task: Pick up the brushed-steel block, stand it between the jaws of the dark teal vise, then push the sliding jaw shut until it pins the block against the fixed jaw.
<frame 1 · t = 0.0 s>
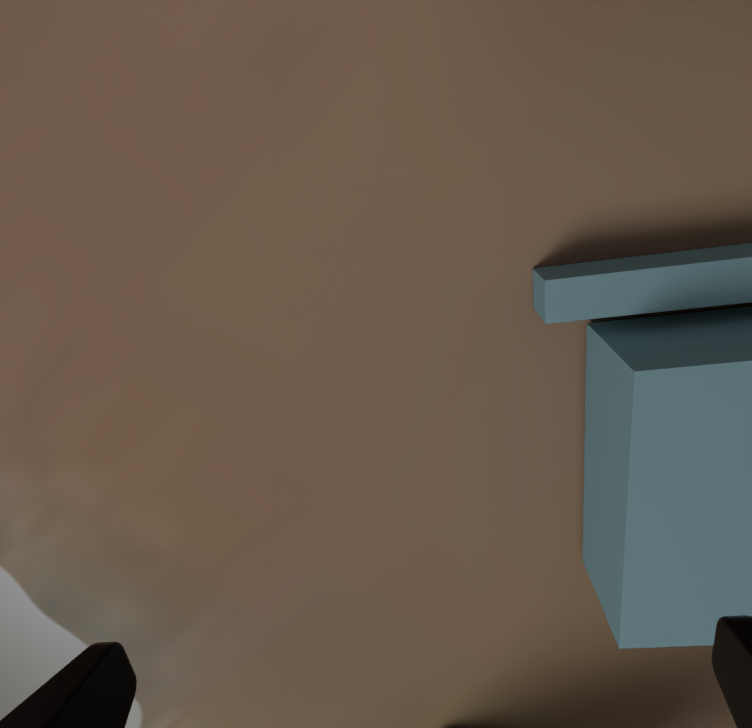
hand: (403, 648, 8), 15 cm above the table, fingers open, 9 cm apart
sliding jaw: (710, 478, 20), point 3 cm above the table, slide at 0.0 cm
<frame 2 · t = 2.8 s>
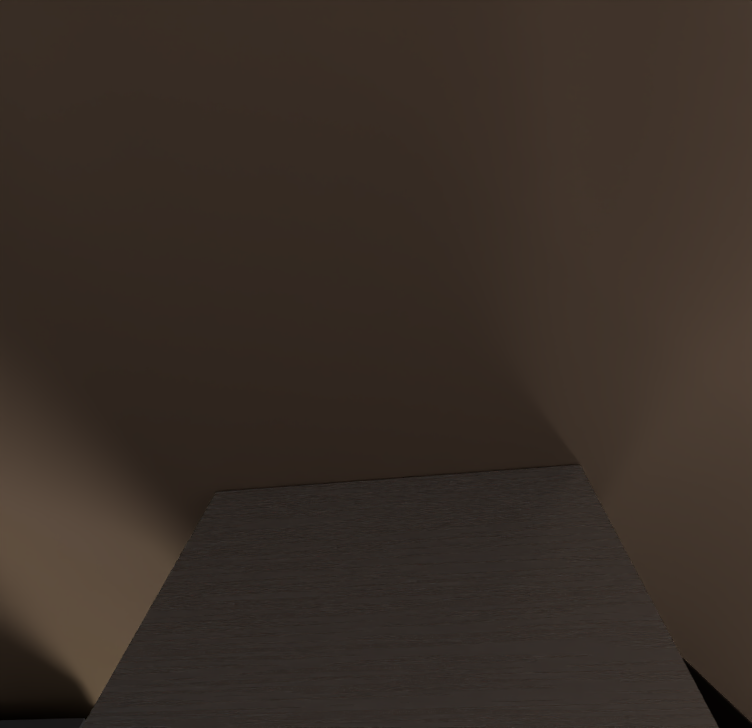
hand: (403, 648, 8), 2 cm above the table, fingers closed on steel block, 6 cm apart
steel block: (404, 572, 9), on the table, touching gripper
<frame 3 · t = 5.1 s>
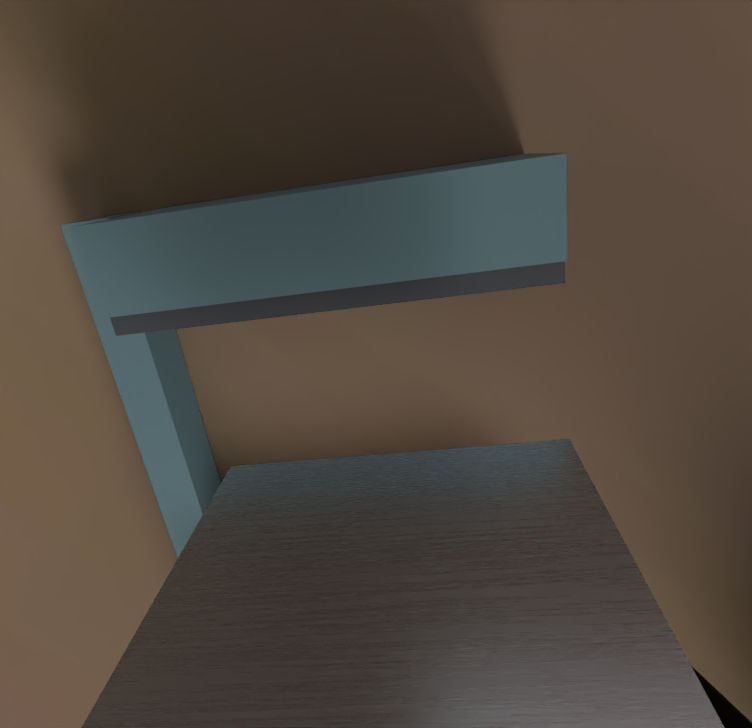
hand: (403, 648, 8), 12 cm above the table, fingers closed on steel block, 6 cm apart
vise body: (343, 229, 17), on the table
steel block: (406, 542, 10), point 10 cm above the table, touching gripper
when the fingers open (3 cm above the table, at t = 7.4 s): steel block stays where it is, on the table.
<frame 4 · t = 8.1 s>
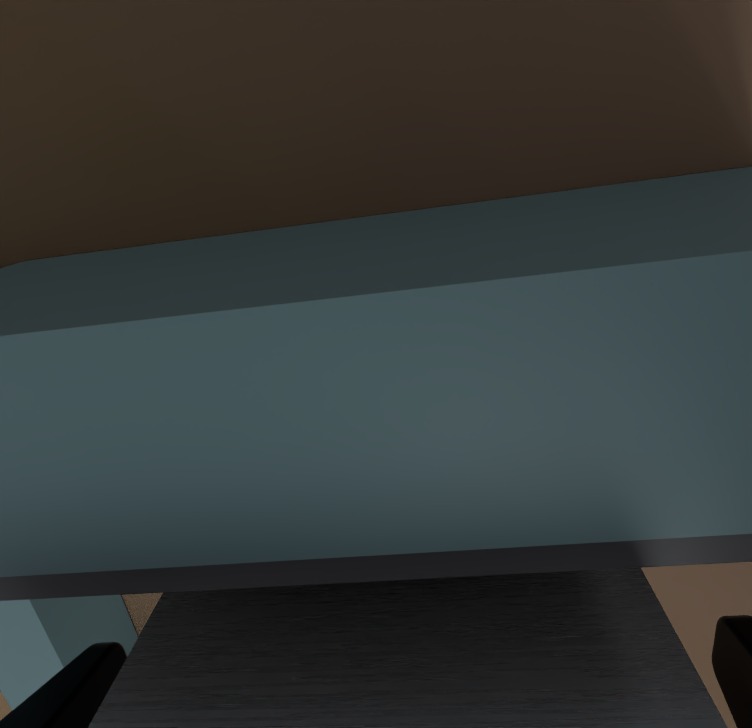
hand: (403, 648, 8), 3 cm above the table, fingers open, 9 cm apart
vise body: (376, 305, 9), on the table
steel block: (408, 514, 11), on the table
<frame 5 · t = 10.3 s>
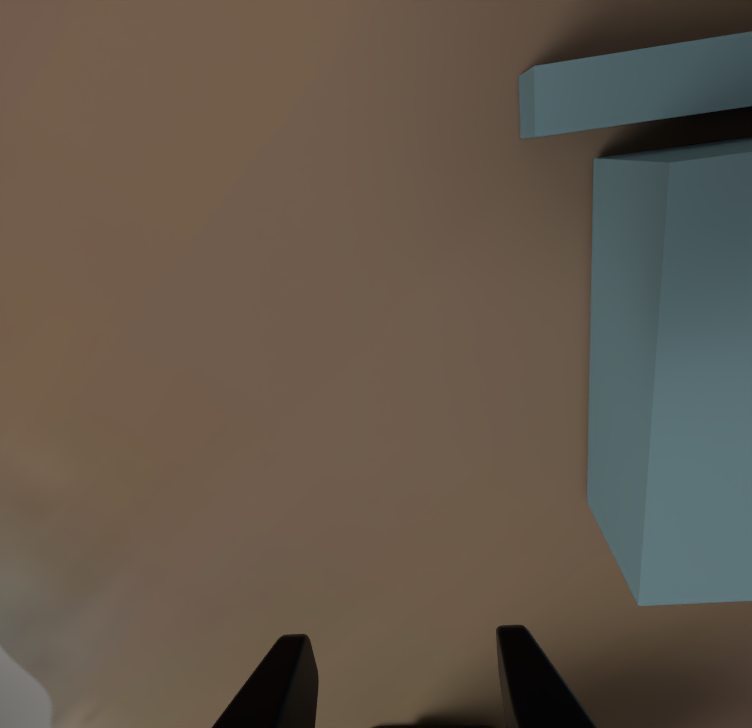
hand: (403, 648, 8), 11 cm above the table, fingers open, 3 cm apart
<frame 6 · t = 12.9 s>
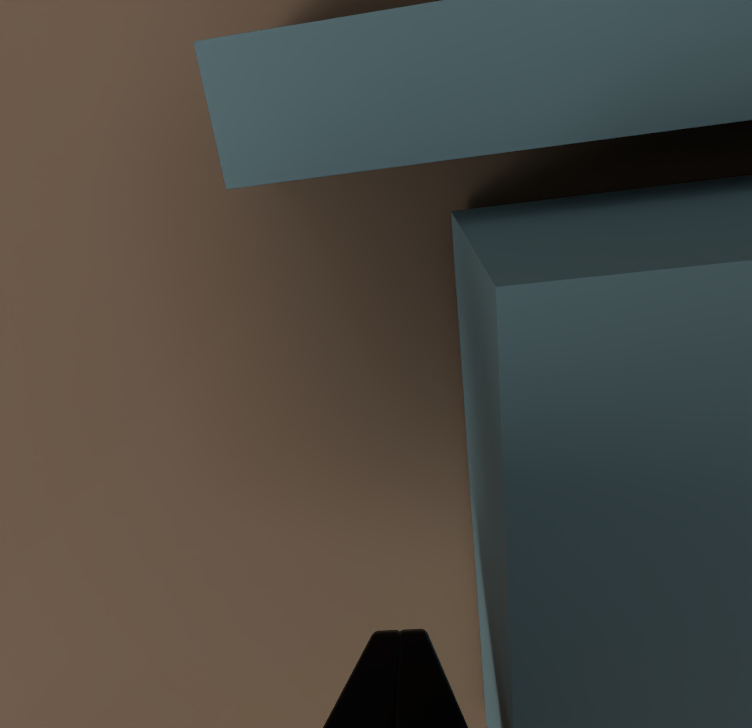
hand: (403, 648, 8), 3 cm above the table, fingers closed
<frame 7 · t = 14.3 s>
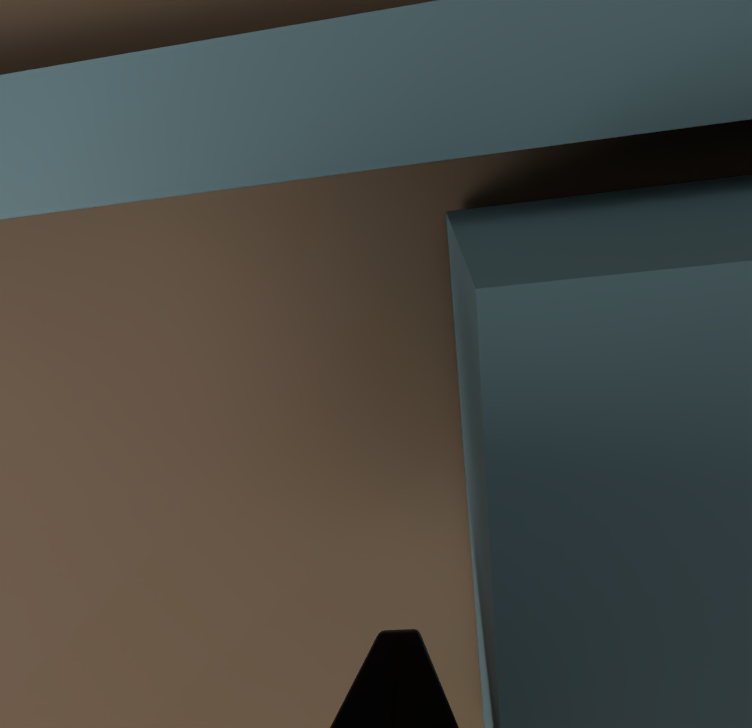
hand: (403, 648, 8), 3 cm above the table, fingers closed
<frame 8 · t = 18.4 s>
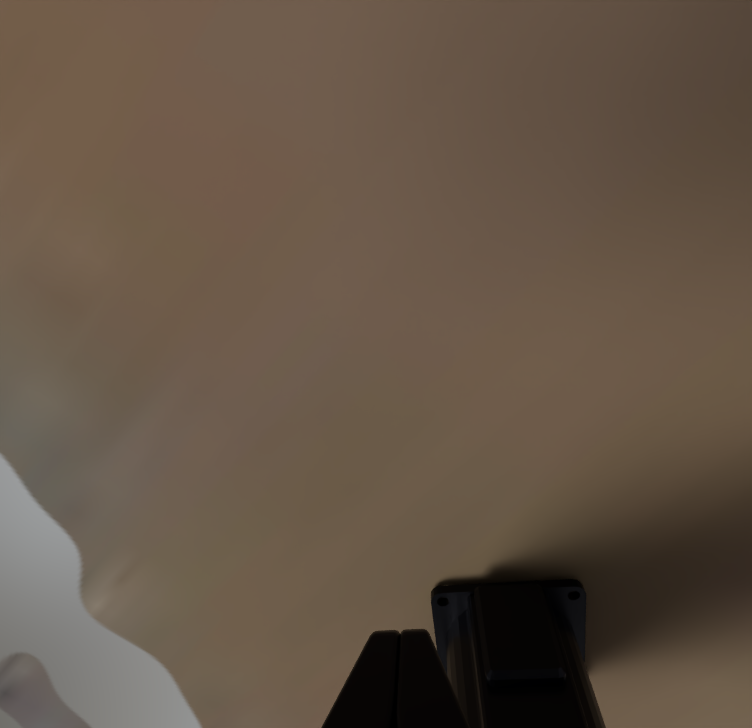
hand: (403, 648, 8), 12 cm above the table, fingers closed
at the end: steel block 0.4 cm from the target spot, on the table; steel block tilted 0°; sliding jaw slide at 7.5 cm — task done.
